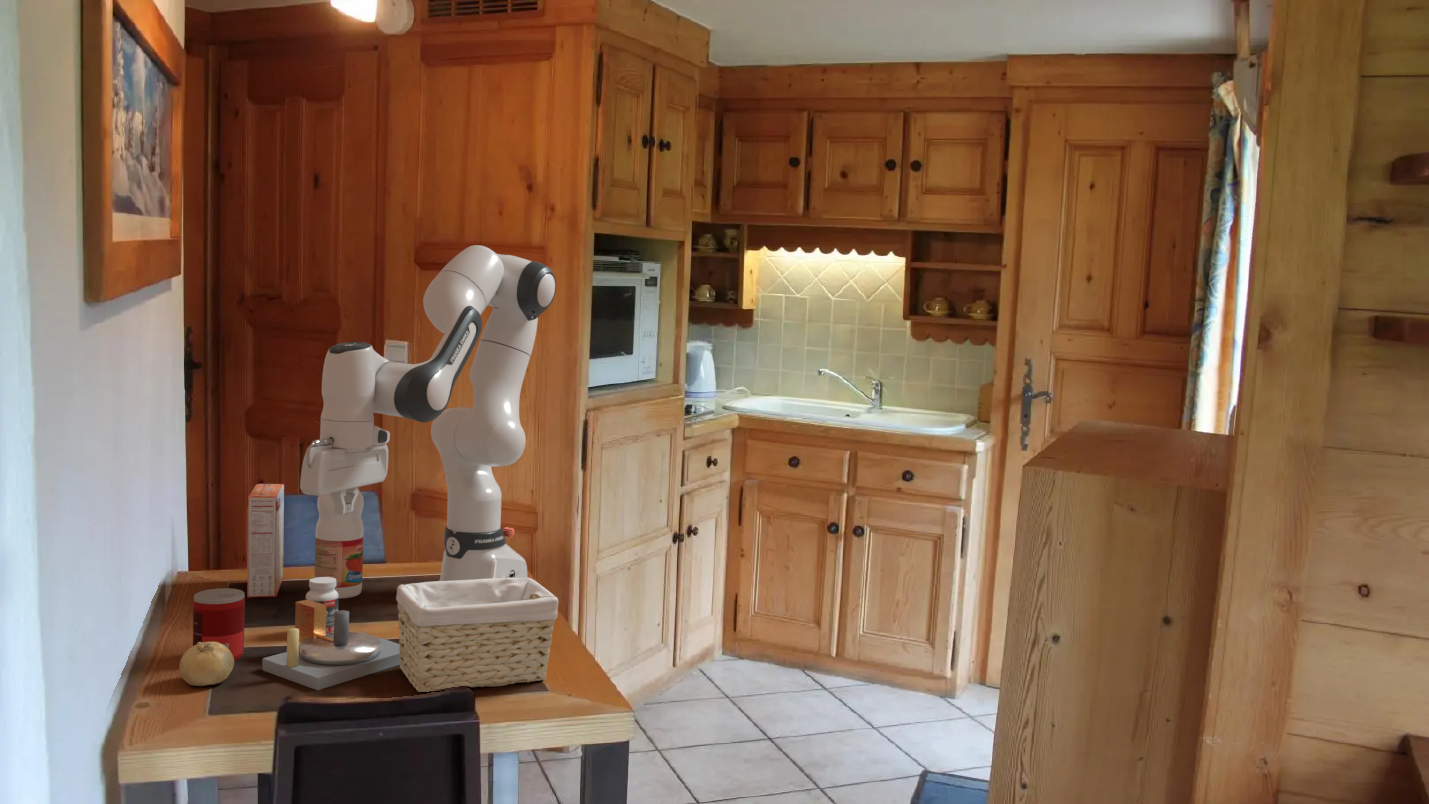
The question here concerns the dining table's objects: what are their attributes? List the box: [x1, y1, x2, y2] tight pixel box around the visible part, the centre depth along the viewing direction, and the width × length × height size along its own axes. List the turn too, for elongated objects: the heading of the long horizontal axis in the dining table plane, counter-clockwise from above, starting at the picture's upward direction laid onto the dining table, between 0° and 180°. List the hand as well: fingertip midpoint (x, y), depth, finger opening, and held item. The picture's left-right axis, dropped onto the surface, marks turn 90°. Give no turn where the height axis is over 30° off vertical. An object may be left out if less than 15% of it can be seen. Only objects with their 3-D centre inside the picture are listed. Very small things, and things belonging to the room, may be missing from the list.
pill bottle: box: [305, 577, 339, 633], centre depth 206 cm, size 6×6×10 cm
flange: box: [294, 599, 381, 665], centre depth 190 cm, size 13×17×7 cm
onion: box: [178, 642, 235, 687], centre depth 178 cm, size 8×8×7 cm
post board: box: [261, 609, 400, 691], centre depth 189 cm, size 20×14×9 cm
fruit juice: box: [313, 490, 365, 600], centre depth 231 cm, size 9×9×28 cm
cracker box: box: [246, 483, 285, 599], centre depth 232 cm, size 14×6×21 cm, turn 15°
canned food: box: [192, 587, 246, 662], centre depth 189 cm, size 8×8×11 cm
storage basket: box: [395, 577, 559, 693], centre depth 188 cm, size 24×16×15 cm
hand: (343, 513), depth 197 cm, fingers closed
